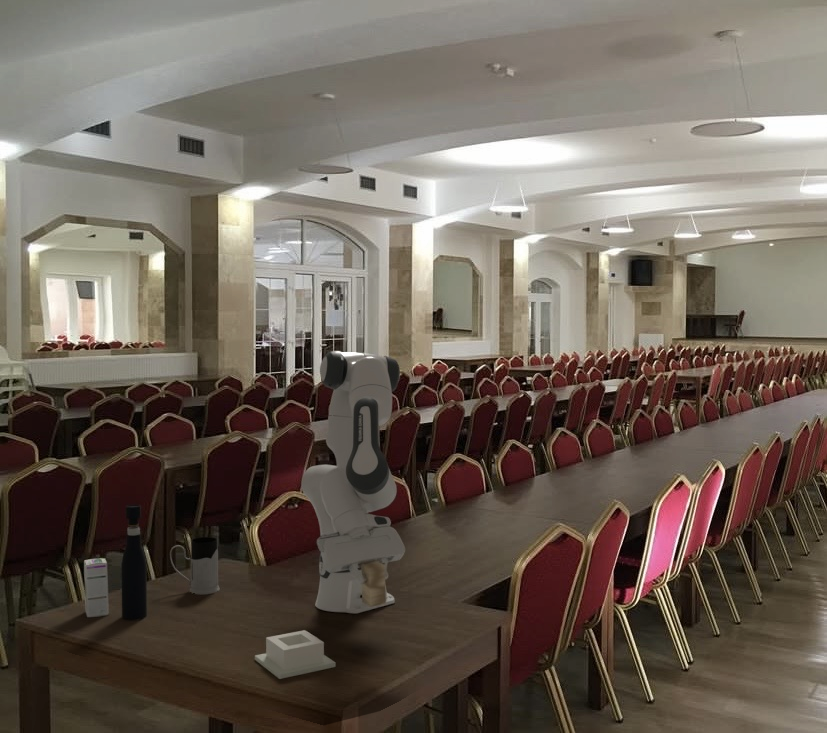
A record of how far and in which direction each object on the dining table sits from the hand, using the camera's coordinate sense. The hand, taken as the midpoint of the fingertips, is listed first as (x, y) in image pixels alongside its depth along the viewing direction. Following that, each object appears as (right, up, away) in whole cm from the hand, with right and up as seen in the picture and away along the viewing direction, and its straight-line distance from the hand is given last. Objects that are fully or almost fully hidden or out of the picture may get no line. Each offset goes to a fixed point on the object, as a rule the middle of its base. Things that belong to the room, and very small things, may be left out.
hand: (374, 580), depth 213 cm
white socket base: (-19, -20, +3) cm, 27 cm away
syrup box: (-77, -18, +39) cm, 88 cm away
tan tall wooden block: (0, -5, +1) cm, 5 cm away
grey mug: (-56, -17, +61) cm, 84 cm away
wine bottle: (-66, -18, +36) cm, 78 cm away
